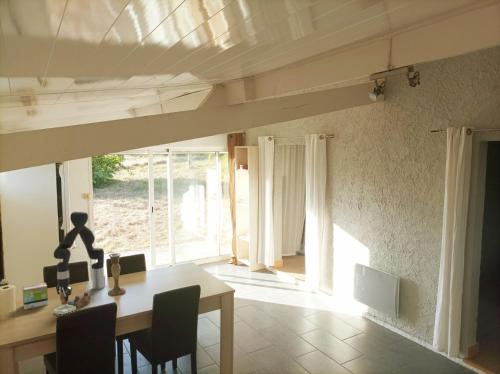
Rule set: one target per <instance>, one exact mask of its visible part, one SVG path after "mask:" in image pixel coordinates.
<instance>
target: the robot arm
mask: <svg viewBox="0 0 500 374" xmlns="http://www.w3.org/2000/svg"><path fill="white" fill-rule="evenodd" d="M88 220H89V214H88V213H87V212H86V211H73V212H71V214H70V221H71V224H72V226H74V227H73V228H72V229H70V231H68V232H67V233H66V234H65V236H64V238H63V239H62V241H61V243H60V244H59V245H58V246H57V247H56V248H55V249H54V251H53V258H54V259H57V260H62V261H60V262H58V263H57V264H56V269H57V271H56V279H57V282H56V283H57V286H55V289H56V292H57V295H59V297H60V298H59V299H60V301H61V302H62V300H61V291H63V293H64V295H65V302H67V303H68V301H69V300H70V299H69V296H71V294H72V291H73V287H70V285H69V284H70V281H71V280H70V269H69V264H70V263H69V262H70V258H71V254H72V253H71V250H70V248H72V247H73V244H74V243H75V241H76V239H77V237H78V235H79V237H80V239H81V241H82V242H83V245H84V248H85V249H86V252H87V255H88V258H89V259H91V260H95V261H97V262H94V263H92V264H91V282H92V283H91V285H92V290H102V289H104V288H105V287H106V275H105V273H104V272H105V271H104V270H105V269H104V263H105V251H104V249H103V248H99V247H98V248H97V247H95V248H94V247H93V244H94V242H95V238H96V237H95V235H94V232H93V231H92V230H91V229H90V228H89V227H88V226H86V225H87V222H88ZM65 291H67V292H65ZM66 293H67V295H66Z"/></svg>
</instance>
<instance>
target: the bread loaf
mask: <svg viewBox="0 0 500 374" xmlns="http://www.w3.org/2000/svg"><path fill="white" fill-rule="evenodd" d="M65 292H67V291H65ZM66 295H67V293H66ZM61 300H62V301H61ZM60 301H61V306H63V305H66V304H67V305H68V301H67V302H65V295H64V293H63V291H61V299H60Z"/></svg>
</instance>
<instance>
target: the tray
mask: <svg viewBox="0 0 500 374" xmlns="http://www.w3.org/2000/svg"><path fill="white" fill-rule="evenodd" d="M71 311H73V312H75V311H77V309H76V306H72V305H68V303H67V304H66V305H60V306H59V307H56V308H55V309H53V314H54V313H55V315H59V314H64V313H68V312H71ZM71 313H72V312H71Z"/></svg>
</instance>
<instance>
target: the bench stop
mask: <svg viewBox="0 0 500 374" xmlns="http://www.w3.org/2000/svg"><path fill="white" fill-rule="evenodd" d="M79 296H80V295H76V296H75V297H74V298H75V300H74V306H76V310H78V309H79V308H82V307H84V306H85V305H88V304H90V303H91V295H90V294H89V292H88V291H86V292H83V295H82V296H80V297H79Z"/></svg>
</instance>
